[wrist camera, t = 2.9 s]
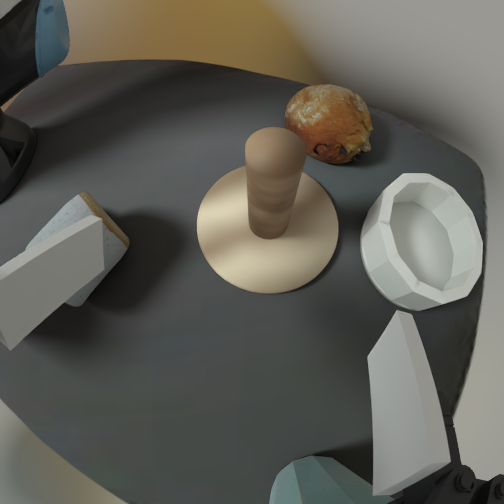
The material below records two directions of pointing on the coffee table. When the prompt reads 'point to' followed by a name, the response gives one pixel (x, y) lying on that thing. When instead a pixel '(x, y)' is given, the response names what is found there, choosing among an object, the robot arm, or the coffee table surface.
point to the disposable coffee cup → (322, 484)
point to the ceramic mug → (112, 238)
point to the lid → (268, 218)
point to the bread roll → (330, 122)
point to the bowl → (421, 243)
